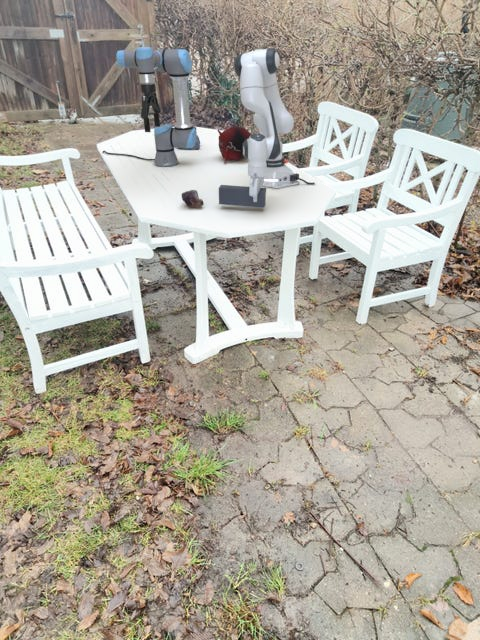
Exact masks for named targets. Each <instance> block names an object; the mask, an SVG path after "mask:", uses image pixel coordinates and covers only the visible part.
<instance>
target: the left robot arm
mask: <svg viewBox="0 0 480 640" xmlns="http://www.w3.org/2000/svg"><path fill="white" fill-rule="evenodd" d="M115 58H116V63H117V66H119V68H125V69H126V68H129V69H131V68H132V69H133V68H136V69H137V68H138V77H139V83H140V86H139V87H140V93H142V94H144V95H142V96H141V111H140V118H141V119H143V126H144V132H145V133H151V132H152V131H151V123H150V118H149V116H150V109H152V110H153V122H154V127H155V128H154V129H153V133H154V134H153V136H154V145H155V155H154V158H145V157H140V156H138V155H133V154H128V153H116V152H107V151H106V150H103V151H102V153H105V154H107V155H114V156H125V157H127V156H128V157H133V158H137V159H140V160H144V161H154V165H155V166H157V167H163V168H164V167H165V168H167V167H168V168H169V167H174V166H177V165H178V164H179V159H178V157H177V153H176V151H175V149H176V148H177V149H181V148H193V147H194V145H195V143H196V138H197V135H198V132H197V128H196V129H195V128H193V125H194V123H193V122H192V121H191V113H190V100H189V88H188V78H189V77H190V73H192V71H193V62H192V61H193V60H192V57H191V54H190V52H189V51H188V50H187V49H183V48H162V49H161V48H160V49H152V47H151V46H138V47H136V49H135V50H134V49H133V50H130V49H127V50H125V49H122V50H117V52H116V55H115ZM155 72H159V73H168V75H169V78H170V79H171V80H172V91H173V101H174V111H175V121H176V122H175V123H174V126H173V125H172V124H163V125H161V120H160V114H161V112H162V111H161V107H160V103H159V99H158V95H157V85H156V78H157V77H156V76H155ZM190 121H191V122H192V123H193V124H192V123H191V122H190Z"/></svg>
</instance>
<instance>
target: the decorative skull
mask: <svg viewBox="0 0 480 640" xmlns="http://www.w3.org/2000/svg"><path fill="white" fill-rule="evenodd" d="M217 133H218V150H219V152H220V154H221V156H222V159H223V160H224V162H223V163H224V165H225V164H226V163H227V161H232V162H238V161H242V160H244V159H246V158H245V157H244V156H243V143H244V141H245V140H246V139H249V137H250V136H251V135H252V133H251V132H249V130H247V129H246V128H245V127H243V126H238V125H237V126H236V125H235V126H231V127H229V128H226V129H225V130H223V131H221V130H220V129H217Z"/></svg>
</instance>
